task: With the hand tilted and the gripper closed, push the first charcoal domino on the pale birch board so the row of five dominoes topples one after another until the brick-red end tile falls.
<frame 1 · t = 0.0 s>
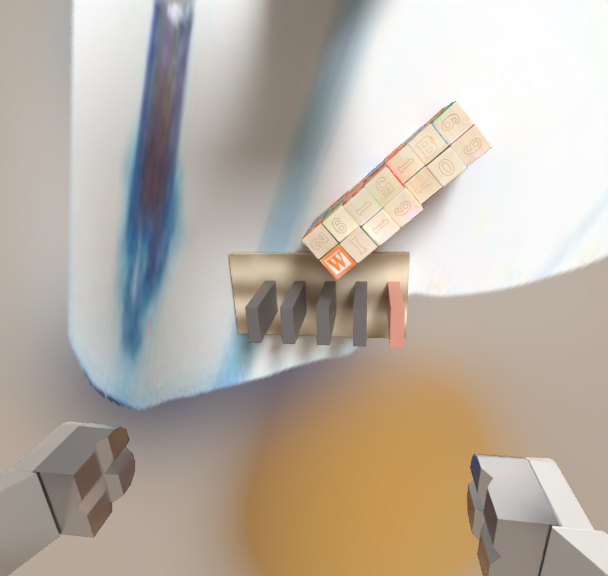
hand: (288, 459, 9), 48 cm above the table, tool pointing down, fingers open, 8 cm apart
domino 1: (271, 296, 60), point 1 cm above the table, touching domino board
domino 3: (330, 297, 58), point 1 cm above the table, touching domino board
domino board: (318, 293, 60), on the table
domino 2: (300, 296, 59), point 1 cm above the table, touching domino board
domino 5: (393, 298, 57), point 1 cm above the table, touching domino board
stack of blocks: (389, 185, 53), on the table
domino 4: (361, 297, 57), point 1 cm above the table, touching domino board
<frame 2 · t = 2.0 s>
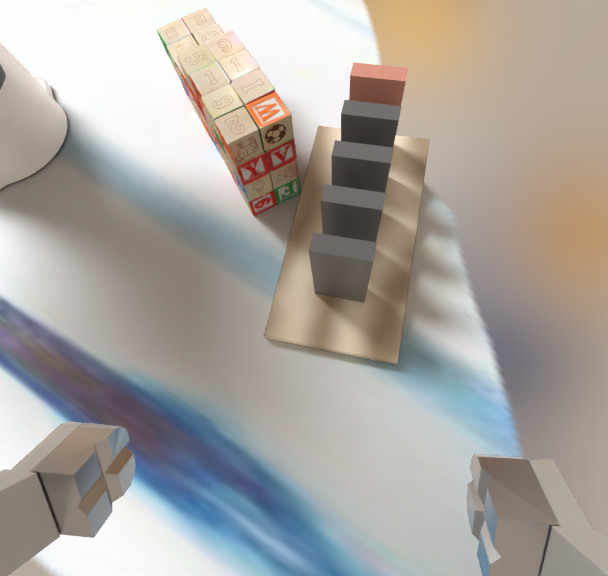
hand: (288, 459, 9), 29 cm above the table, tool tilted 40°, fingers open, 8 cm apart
domino 1: (340, 290, 40), point 1 cm above the table, touching domino board
domino 3: (356, 213, 42), point 1 cm above the table, touching domino board
domino board: (352, 235, 43), on the table
domino 2: (348, 250, 41), point 1 cm above the table, touching domino board
domino 5: (370, 146, 45), point 1 cm above the table, touching domino board
stack of blocks: (240, 142, 49), on the table
domino 4: (363, 178, 44), point 1 cm above the table, touching domino board
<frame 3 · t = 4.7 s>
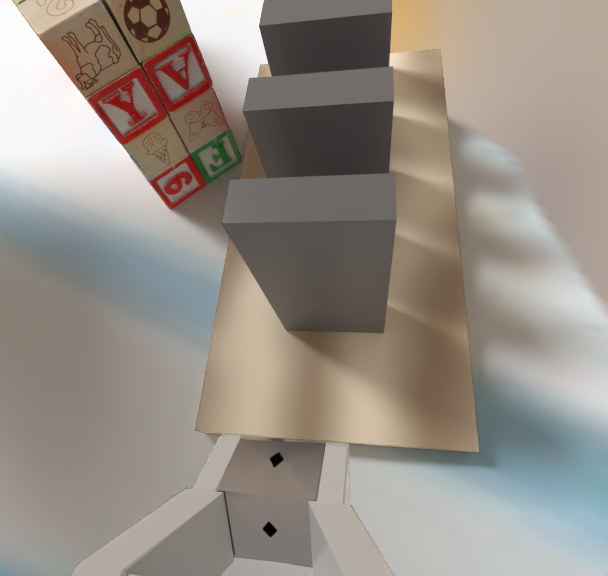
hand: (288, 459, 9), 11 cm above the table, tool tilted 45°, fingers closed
domino 1: (334, 317, 20), point 1 cm above the table, touching domino board
domino 3: (341, 178, 24), point 1 cm above the table, touching domino board
domino board: (341, 217, 24), on the table
domino 2: (338, 242, 22), point 1 cm above the table, touching domino board
stack of blocks: (144, 110, 32), on the table
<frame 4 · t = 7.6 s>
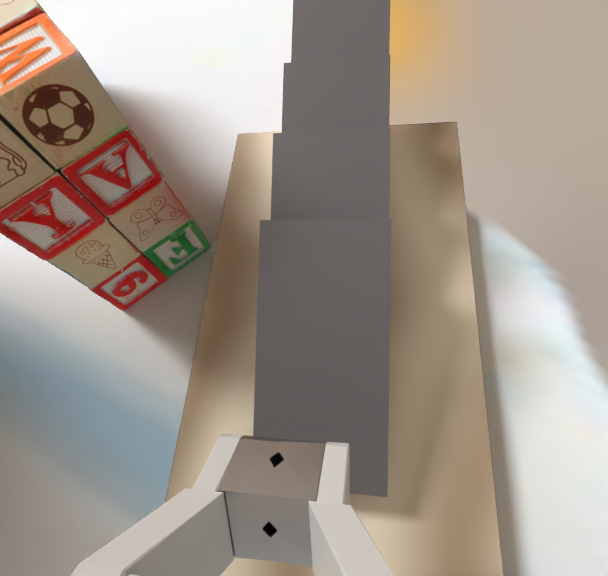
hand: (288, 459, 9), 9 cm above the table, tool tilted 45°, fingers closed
domino 1: (320, 480, 15), point 2 cm above the table, tilted 69°, touching domino 2, domino board
domino 3: (332, 272, 19), point 2 cm above the table, tilted 69°, touching domino 2, domino 4, domino board
domino board: (332, 344, 19), on the table
domino 2: (327, 365, 17), point 2 cm above the table, tilted 69°, touching domino 1, domino 3, domino board
stack of blocks: (100, 177, 27), on the table
domino 4: (337, 185, 21), point 2 cm above the table, tilted 69°, touching domino 3, domino 5
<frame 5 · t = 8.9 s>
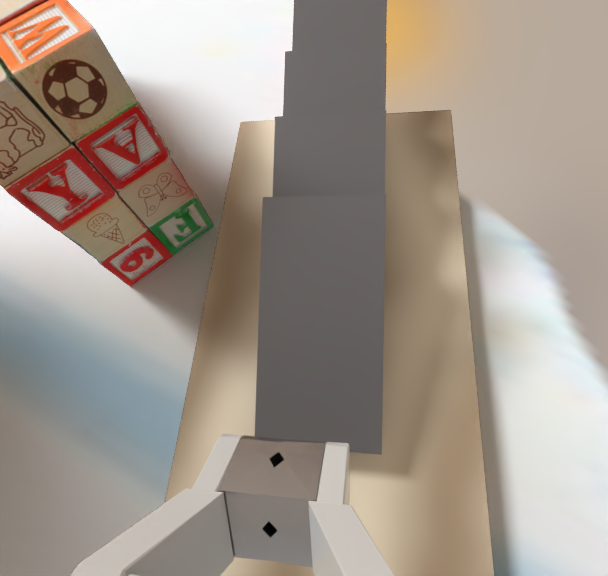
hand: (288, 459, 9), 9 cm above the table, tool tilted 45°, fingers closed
domino 1: (318, 442, 16), point 2 cm above the table, tilted 69°, touching domino 2, domino board
domino 3: (331, 250, 20), point 2 cm above the table, tilted 69°, touching domino 2, domino 4, domino board
domino board: (331, 320, 20), on the table
domino 2: (325, 336, 18), point 2 cm above the table, tilted 69°, touching domino 1, domino 3, domino board
stack of blocks: (105, 162, 28), on the table
domino 4: (335, 169, 22), point 2 cm above the table, tilted 69°, touching domino 3, domino 5
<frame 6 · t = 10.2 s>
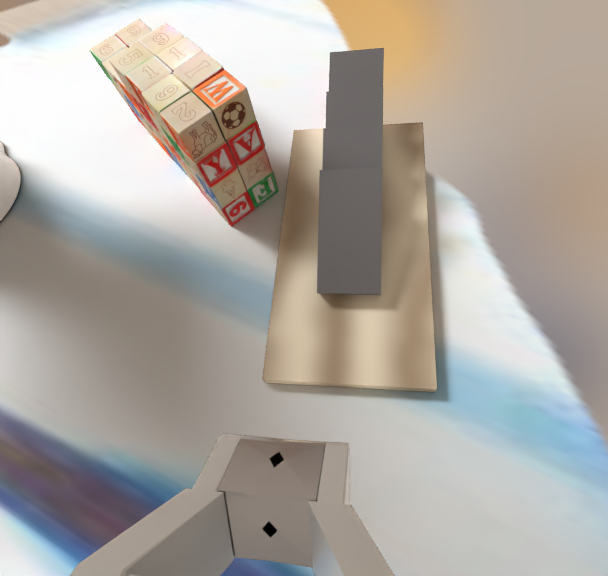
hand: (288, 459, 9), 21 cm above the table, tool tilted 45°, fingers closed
domino 1: (349, 294, 32), point 2 cm above the table, tilted 69°, touching domino 2, domino board
domino 3: (352, 202, 35), point 2 cm above the table, tilted 69°, touching domino 2, domino 4, domino board
domino board: (352, 242, 36), on the table
domino 2: (351, 245, 34), point 2 cm above the table, tilted 69°, touching domino 1, domino 3, domino board
stack of blocks: (203, 155, 44), on the table
domino 4: (354, 157, 37), point 2 cm above the table, tilted 69°, touching domino 3, domino 5
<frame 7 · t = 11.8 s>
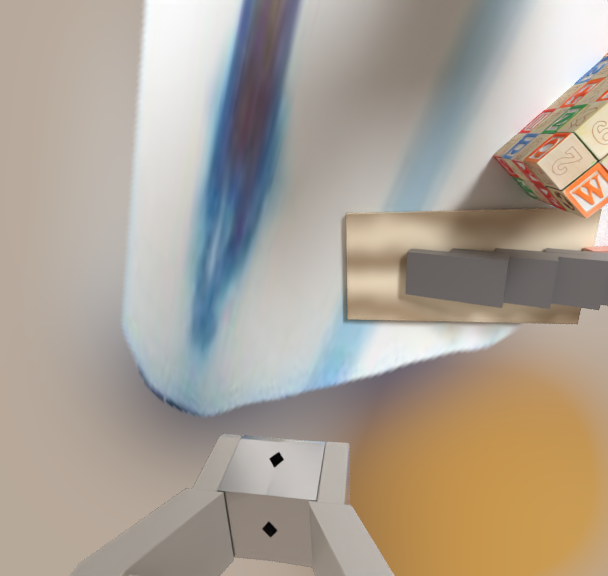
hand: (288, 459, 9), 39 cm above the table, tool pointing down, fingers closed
domino 1: (408, 271, 45), point 2 cm above the table, tilted 69°, touching domino 2, domino board
domino 3: (492, 271, 43), point 2 cm above the table, tilted 69°, touching domino 2, domino 4, domino board
domino board: (459, 266, 46), on the table
domino 2: (449, 271, 44), point 2 cm above the table, tilted 69°, touching domino 1, domino 3, domino board
domino 5: (583, 272, 42), point 2 cm above the table, tilted 98°, touching domino 4, domino board
stack of blocks: (605, 95, 38), on the table
domino 4: (542, 272, 42), point 2 cm above the table, tilted 69°, touching domino 3, domino 5
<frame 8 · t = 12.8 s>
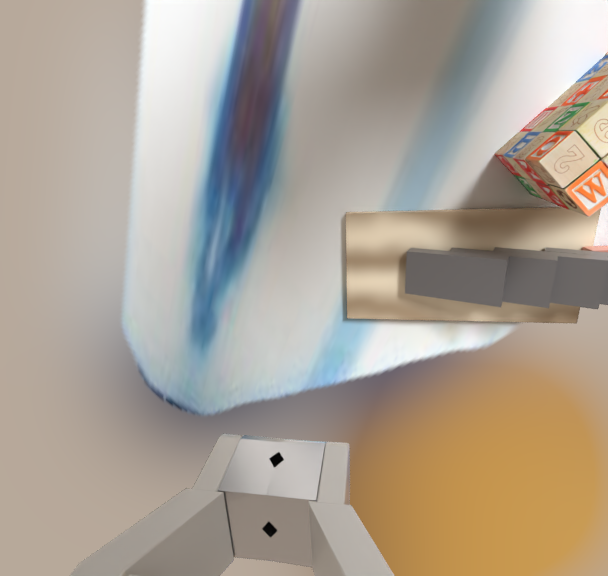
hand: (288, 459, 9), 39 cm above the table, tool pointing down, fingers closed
domino 1: (407, 270, 45), point 2 cm above the table, tilted 69°, touching domino 2, domino board
domino 3: (491, 270, 44), point 2 cm above the table, tilted 69°, touching domino 2, domino 4, domino board
domino board: (459, 265, 46), on the table
domino 2: (449, 270, 44), point 2 cm above the table, tilted 69°, touching domino 1, domino 3, domino board
domino 5: (582, 271, 42), point 2 cm above the table, tilted 98°, touching domino 4, domino board
stack of blocks: (606, 93, 38), on the table
domino 4: (541, 271, 43), point 2 cm above the table, tilted 69°, touching domino 3, domino 5
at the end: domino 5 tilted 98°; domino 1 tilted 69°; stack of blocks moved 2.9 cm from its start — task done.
